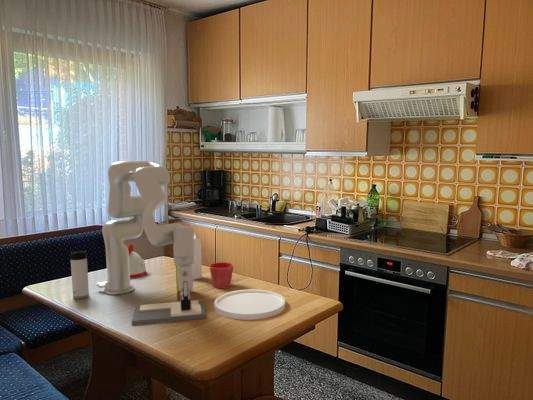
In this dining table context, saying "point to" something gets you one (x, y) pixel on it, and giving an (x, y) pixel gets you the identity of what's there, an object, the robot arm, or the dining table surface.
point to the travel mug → (79, 275)
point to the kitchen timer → (136, 264)
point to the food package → (178, 285)
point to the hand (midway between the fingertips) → (185, 307)
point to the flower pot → (221, 274)
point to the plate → (249, 304)
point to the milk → (197, 259)
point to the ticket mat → (162, 313)
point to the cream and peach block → (179, 312)
